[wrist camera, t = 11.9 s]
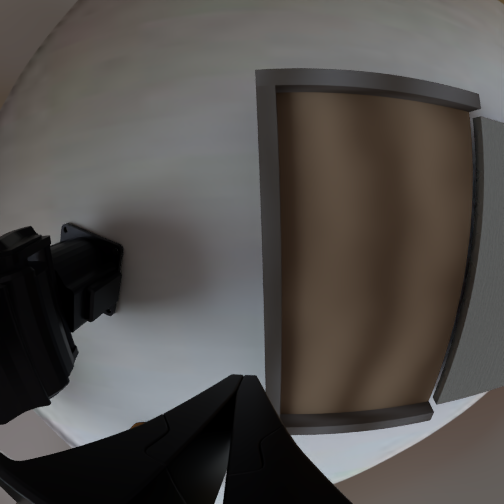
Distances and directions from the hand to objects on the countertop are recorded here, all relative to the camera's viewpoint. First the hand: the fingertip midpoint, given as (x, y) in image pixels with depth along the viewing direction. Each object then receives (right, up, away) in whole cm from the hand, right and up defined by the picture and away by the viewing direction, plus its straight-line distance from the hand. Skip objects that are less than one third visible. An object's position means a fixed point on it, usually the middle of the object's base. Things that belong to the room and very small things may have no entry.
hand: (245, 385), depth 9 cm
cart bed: (+8, +3, +11) cm, 14 cm away
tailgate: (+15, +3, +7) cm, 17 cm away
